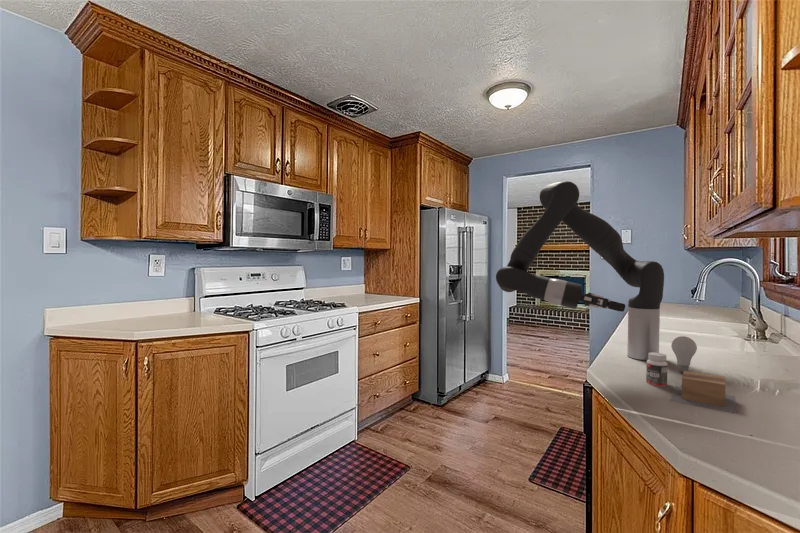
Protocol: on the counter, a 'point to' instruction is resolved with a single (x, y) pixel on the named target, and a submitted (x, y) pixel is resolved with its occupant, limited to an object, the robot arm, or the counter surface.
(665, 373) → the pill bottle
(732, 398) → the mat
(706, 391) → the walnut block
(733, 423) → the counter surface
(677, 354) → the lightbulb
